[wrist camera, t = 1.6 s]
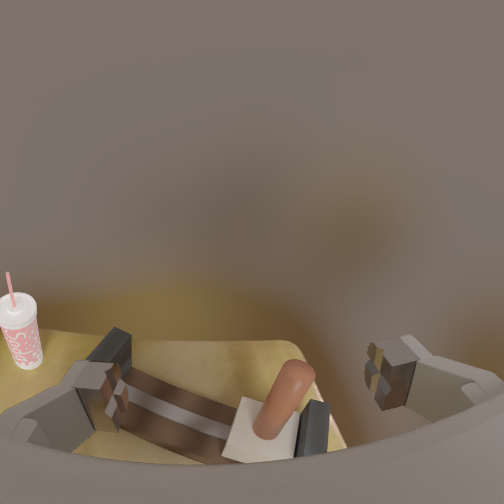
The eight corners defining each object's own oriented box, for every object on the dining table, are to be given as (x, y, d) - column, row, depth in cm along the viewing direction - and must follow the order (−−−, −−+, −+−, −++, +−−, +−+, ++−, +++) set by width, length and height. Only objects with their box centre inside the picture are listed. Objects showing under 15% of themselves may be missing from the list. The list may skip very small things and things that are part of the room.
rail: (84, 408, 30) (74, 368, 27) (114, 367, 37) (112, 325, 34) (299, 488, 28) (328, 463, 25) (306, 437, 35) (332, 404, 32)
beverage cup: (2, 364, 30) (-25, 280, 24) (21, 336, 35) (3, 254, 29) (37, 380, 31) (12, 295, 24) (54, 349, 36) (40, 265, 30)
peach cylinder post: (221, 455, 28) (251, 389, 23) (236, 409, 35) (267, 334, 29) (282, 472, 28) (335, 412, 22) (291, 425, 34) (336, 356, 28)
